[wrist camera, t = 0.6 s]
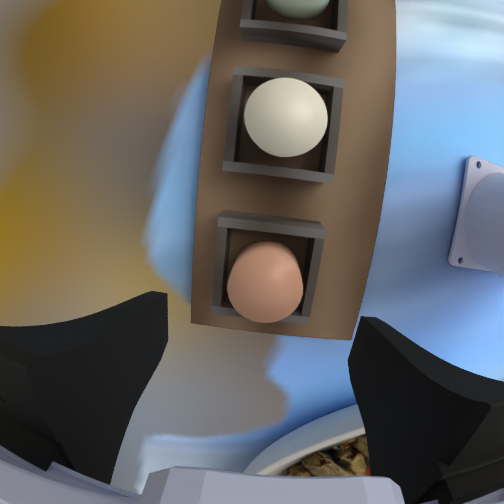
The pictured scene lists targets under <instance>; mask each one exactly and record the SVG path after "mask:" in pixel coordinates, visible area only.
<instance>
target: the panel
mask: <svg viewBox="0 0 504 504" xmlns="http://www.w3.org/2000/svg"><path fill="white" fill-rule="evenodd" d="M277 78H293V79H297V80H300V81H302V82H305V83H306V84H308V85H310V86H311V87H312V88H314V89H315V90H316V91H317V92H318V94H319V95H320V96H321V98H322V100H323V101H324V104H325V106H326V110H327V116H328V119H327V127H326V130H325V133H324V135H323V137H322V139H321V140H320V142H319V143H318V144H317V145H316V146H315V147H314V148H312V149H311V150H309V151H308V152H306V153H304V154H301V155H297V156H292V157H277V156H274V155H271V154H268V153H266V152H265V151H263V150H262V149H261V148H260V147H259V146H258V145H257V144H256V143H255V142H254V141H253V140H252V138H251V137H250V135H249V133H248V131H247V129H246V125H245V119H244V112H245V107H246V104H247V101H248V99H249V97H250V96H251V94H252V93H253V92H254V90H255V89H256V88H258V87H259V86H260V85H262V84H263V83H265V82H267V81H269V80H273V79H277ZM395 79H396V8H395V0H329V3H328V6H327V8H326V9H325V10H324V12H322V13H321V14H320V15H318V16H316V17H314V18H310V19H304V20H296V19H290V18H286V17H283V16H281V15H279V14H277V13H276V12H274V11H273V10H272V9H271V8H270V7H269V6H268V5H267V3H266V1H265V0H221V6H220V11H219V17H218V23H217V29H216V35H215V42H214V48H213V55H212V62H211V69H210V77H209V84H208V92H207V100H206V108H205V117H204V126H203V135H202V145H201V155H200V166H199V178H198V190H197V203H196V217H195V233H194V251H193V272H192V300H191V323H195V324H201V325H208V326H215V327H222V328H229V329H237V330H244V331H253V332H262V333H270V334H279V335H289V336H300V337H311V338H324V339H338V340H351V338H352V335H353V332H354V328H355V325H356V321H357V317H358V314H359V310H360V306H361V302H362V298H363V295H364V291H365V286H366V282H367V278H368V274H369V269H370V265H371V260H372V256H373V251H374V246H375V241H376V236H377V231H378V226H379V221H380V215H381V209H382V203H383V197H384V191H385V184H386V177H387V170H388V162H389V154H390V145H391V136H392V125H393V113H394V99H395ZM259 240H273V241H277V242H279V243H282V244H283V245H285V246H286V247H288V248H289V249H290V250H291V251H292V252H293V254H294V255H295V257H296V259H297V262H298V265H299V269H300V274H301V278H302V283H303V295H302V299H301V301H300V303H299V305H298V307H297V308H296V309H295V310H294V311H293V312H292V313H291V314H290V315H289V316H287V317H286V318H284V319H282V320H280V321H276V322H271V323H259V322H255V321H251V320H249V319H247V318H245V317H243V316H242V315H241V314H239V313H238V312H237V311H236V310H235V308H234V307H233V305H232V304H231V302H230V299H229V296H228V291H227V285H228V280H229V277H230V274H231V271H232V268H233V265H234V262H235V260H236V257H237V256H238V254H239V253H240V251H241V250H242V249H243V248H244V247H246V246H247V245H249V244H251V243H253V242H255V241H259Z"/></svg>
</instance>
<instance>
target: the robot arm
mask: <svg viewBox="0 0 504 504" xmlns="http://www.w3.org/2000/svg"><path fill="white" fill-rule="evenodd" d="M477 162H478V167H476V163H477ZM460 257H461V260H460V261H459V262H458V259H459V258H460ZM448 262H449V263H450V264H451V265H452V266H456V267H463V268H470V269H477V270H484V271H492V272H495V273H497V274H498V275H500V276H501V277H503V278H504V168H503V167H501V166H499V165H496V164H494V163H491V162H488V161H486V160H483V159H480V158H478V157H475V156H469V157H468V158H467V159H466V166H465V174H464V181H463V188H462V194H461V200H460V206H459V212H458V217H457V222H456V227H455V232H454V236H453V241H452V245H451V249H450V253H449V257H448ZM167 304H168V303H167V293H162V292H156V291H150V292H147V293H144V294H142V295H139V296H137V297H134V298H132V299H130V300H127V301H125V302H123V303H120V304H118V305H116V306H113V307H111V308H108V309H105V310H103V311H100V312H97V313H95V314H92V315H88V316H85V317H82V318H78V319H74V320H70V321H65V322H59V323H53V324H48V325H39V326H23V327H9V326H0V504H504V382H502V381H498V380H494V379H491V378H487V377H483V376H480V375H477V374H474V373H472V372H469V371H466V370H464V369H461V368H459V367H457V366H454V365H452V364H450V363H448V362H446V361H444V360H442V359H440V358H438V357H437V356H435V355H433V354H431V353H430V352H428V351H427V350H425V349H423V348H422V347H420V346H419V345H417V344H416V343H414V342H413V341H411V340H410V339H408V338H407V337H405V336H404V335H402V334H401V333H400V332H398V331H397V330H395V329H394V328H392V327H391V326H390V325H388V324H387V323H385V322H383V321H382V320H380V319H378V318H376V317H364V316H361V318H360V321H359V325H358V328H357V332H356V335H355V339H354V342H353V345H352V348H351V352H350V355H349V358H348V367H349V374H350V380H351V385H352V388H353V391H354V395H355V398H356V401H357V405H358V408H359V411H360V415H361V418H362V421H363V425H364V429H365V433H366V438H367V445H368V453H369V462H370V473H371V476H364V475H354V476H334V477H293V476H273V475H259V474H248V473H239V472H231V471H224V470H217V469H210V468H197V467H182V466H175V467H171V468H167V469H164V470H160V471H156V472H153V473H149V476H148V478H147V481H146V484H145V487H144V489H143V492H142V495H139V494H136V493H132V492H129V491H126V490H123V489H119V488H117V487H114V486H111V485H110V483H111V479H112V474H113V471H114V467H115V464H116V460H117V456H118V453H119V450H120V446H121V444H122V440H123V438H124V435H125V432H126V429H127V426H128V424H129V421H130V418H131V416H132V413H133V411H134V408H135V406H136V404H137V402H138V400H139V398H140V397H141V395H142V393H143V391H144V389H145V388H146V386H147V384H148V382H149V380H150V379H151V377H152V375H153V373H154V371H155V370H156V368H157V366H158V364H159V362H160V360H161V358H162V355H163V352H164V350H165V347H166V344H167V342H168V313H167V312H168V307H167Z"/></svg>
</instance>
